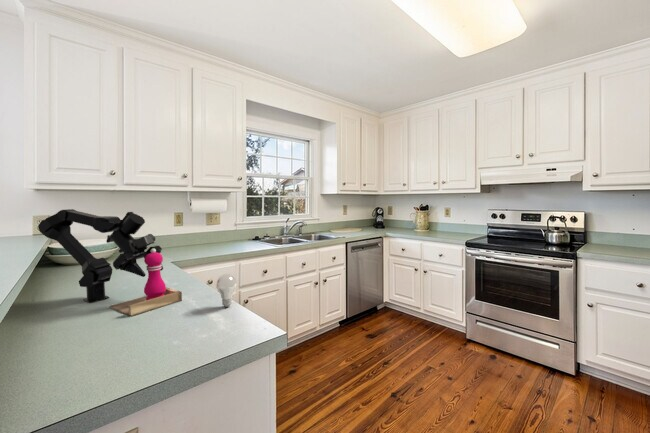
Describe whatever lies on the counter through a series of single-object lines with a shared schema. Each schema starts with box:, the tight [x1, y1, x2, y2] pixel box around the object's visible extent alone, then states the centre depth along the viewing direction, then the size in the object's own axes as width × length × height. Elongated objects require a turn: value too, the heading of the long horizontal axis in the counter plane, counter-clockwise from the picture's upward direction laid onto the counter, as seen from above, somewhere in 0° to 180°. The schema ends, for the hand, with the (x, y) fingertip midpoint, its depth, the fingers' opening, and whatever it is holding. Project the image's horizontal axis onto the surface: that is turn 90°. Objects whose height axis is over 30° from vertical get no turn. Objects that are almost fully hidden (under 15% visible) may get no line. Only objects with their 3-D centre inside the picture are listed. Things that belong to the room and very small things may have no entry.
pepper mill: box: [143, 248, 167, 301], centre depth 114 cm, size 7×7×20 cm
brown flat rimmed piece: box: [109, 286, 183, 318], centre depth 113 cm, size 16×18×4 cm
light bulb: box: [215, 273, 237, 308], centre depth 109 cm, size 7×7×12 cm
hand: (153, 272), depth 113 cm, fingers open, 9 cm apart
